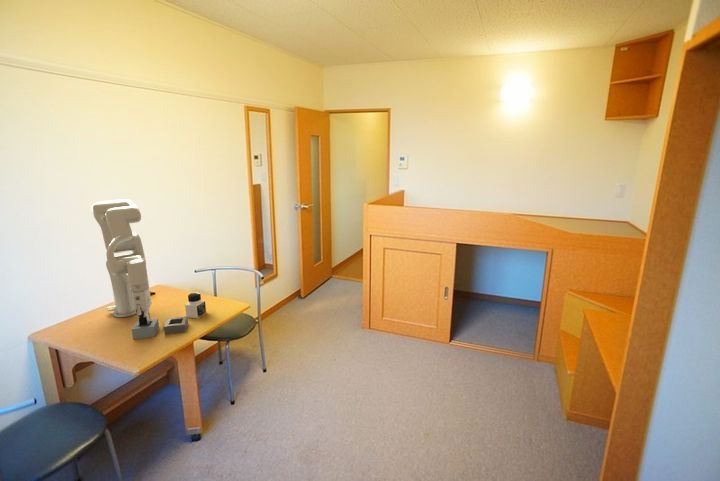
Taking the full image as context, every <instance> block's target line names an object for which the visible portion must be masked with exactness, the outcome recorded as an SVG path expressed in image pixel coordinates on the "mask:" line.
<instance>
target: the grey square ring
mask: <svg viewBox="0 0 720 481" xmlns="http://www.w3.org/2000/svg"><path fill="white" fill-rule="evenodd" d="M188 326H189V317H188V316H186V315H185V316H179V317H169V318H167V319H166V322H165V323H164V325H163V331H164V332H163V333H164V335H171V334H180V333H187V328H188Z"/></svg>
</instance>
